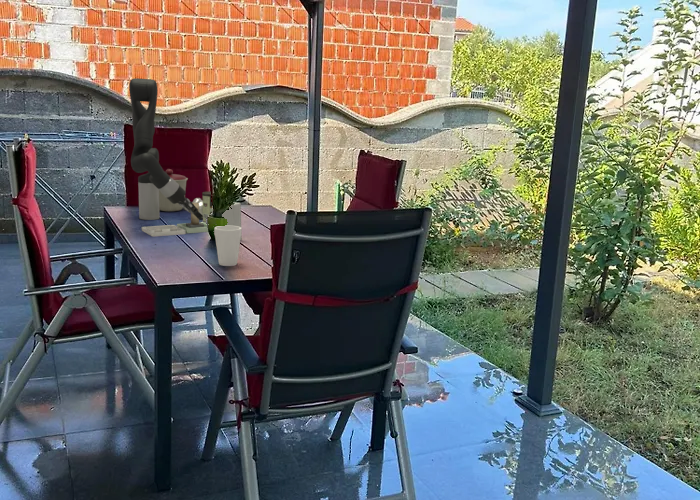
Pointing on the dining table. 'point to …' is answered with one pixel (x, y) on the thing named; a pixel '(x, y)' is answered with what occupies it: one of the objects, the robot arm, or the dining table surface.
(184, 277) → the dining table surface
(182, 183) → the canister
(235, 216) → the skincare box
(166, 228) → the cream square tray
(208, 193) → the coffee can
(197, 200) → the silver lobed ball
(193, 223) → the ball
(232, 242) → the foam cup
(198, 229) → the tray
